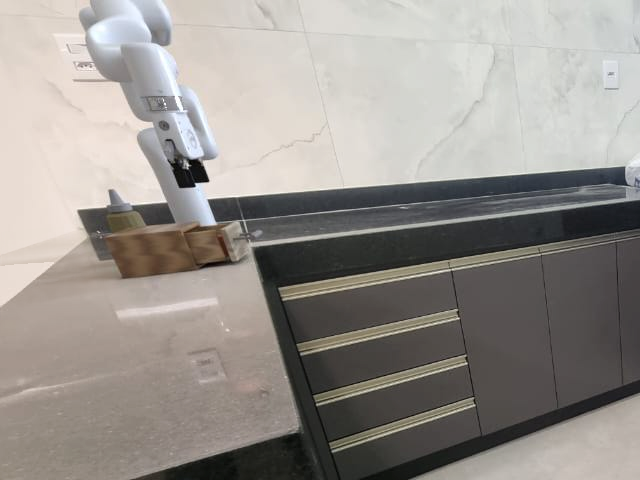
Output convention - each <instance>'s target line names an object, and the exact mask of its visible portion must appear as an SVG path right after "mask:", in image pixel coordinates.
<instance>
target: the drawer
mask: <svg viewBox="0 0 640 480" xmlns="http://www.w3.org/2000/svg"><path fill="white" fill-rule="evenodd" d="M183 234H184V236H185V239H186V241H187V244H188V246H189V249H190V251H191V253H192V256H193V258H194V261H195V263H196V264H199V263H206V264H208V263H216V262H224V261H225V262H226V261H227V260H229V259H230V260H231V262H238V261H239V260H240V259H242V258H243V257H244V256H246V255H247V254H248V253H250V251H251V250H250V247H249V244H248V242H247V240H251V241H255V240H257V239H258V238H259V237H261V236H262V235H263V234H264V232H263V230H261V229H257V230H255V231H250V232H249V231H248V232H244V231H243V228H242V226H241V223H240V221H233V222H231V223H229V224H228V223H222V224H217V225H209V226H198V227H194V228H192V229H190V230H188V231H186V232H184V233H183ZM217 234H222V237H223V240H224V242H225V245H226V247H227V250H228V253H229V255H225V253H224V251H223V248H222V246H221V243H220V240H219V238H218V235H217Z"/></svg>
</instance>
